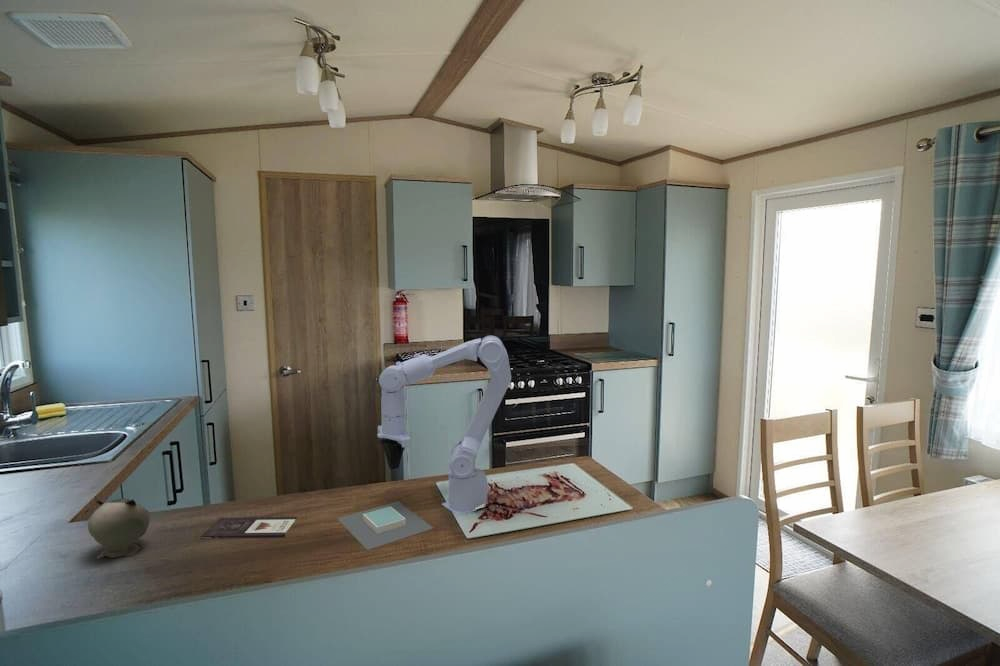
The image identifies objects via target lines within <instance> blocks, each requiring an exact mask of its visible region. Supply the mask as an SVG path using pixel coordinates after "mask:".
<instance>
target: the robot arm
mask: <svg viewBox="0 0 1000 666" xmlns="http://www.w3.org/2000/svg"><path fill="white" fill-rule="evenodd" d="M478 358H479V359H480V361H481V363H482V364H483V365H485V367H486V368H487V370H488V372H489V375H490V377H491V378H490V379H489V382H488V384H487V386H486V388H485V390H484V393H483V394H482V396H481V399H480V401H479V403H478V405H477V407H476V409H475V412H474V414H473V416H472V417H471V420H470V422H469V424H468V426H467V428H466V430H465V432H464V433H463V435H462V436H461V438H460V440H459V441H458V443H456V444H455V445H453V447H452V449H451V454H450V455H451V458H450V460H449V463H448V466H449V467H448V468H449V470H448V501H446V502H442V503H441V505H442V506H443V507H445V508H446V509H448V510H449V511H451V512H452V513H454V514H455V515H457V516H462V515H464V514H468V513H471V512H472V511H473V510H475V508H476V507H478V506H480V505H482V504H484V503H487V504H488V479H487V476H486V475H487V474H486V472H485V471H484V470H483V469H481V468H476V459H477V456H478V454H479V451H480V447H481V445H482V443H483V440H484V438H485V436H486V434H487V432H488V430H489V427H490V425H491V424H492V421H493V420H494V417H495V415H496V413H497V411H498V408H499V407H500V405H501V403H502V400H503V398H504V396H505V394H506V392H507V390H508V387H509V386H510V383H511V382H512V373H511V367H510V359H509V355H508V351H507V349H506V347H505V346H504V344H503V342H502V340H501V339H500V338H499V337H498V336H495V335H486V336H484V337H483V338H481V337H479V338H475V339H472V340H468V341H466V342H463V343H461V344H459V345H456V346H454V347H451V348H449V349H446V350H445V351H442V352H439V353H438V354H435V355H433V356H430V355H427V354H425V353H423V354H421V355H420V353H416V354H414V355H413V358H410V359H407V360H404V361H402V362H401V361H396V362H395V365H394V364H392V365H390V366H387V367H386V368H385V369H384V370H383V371H381V373H380V375H379V377H378V383H379V386H380V387H381V397H380V403H381V404H380V406H381V414H380V417H381V424H380V425H378V426H377V434H376V436H377V438H378V439H381V440H380V441H379V444H380V445H381V447H382V450H383V451H384V454H385V457H386V461H387V465H388V468H389V469H390V470H395V469H399V468H400V465H401V460H402V456H403V453H404V451H405V448H409V447H411V445H412V442H411V441H412V438H411V437H409V435H408V433H407V431H406V403H405V402H406V401H405V400H406V397H405V385H408V386H409V385H411V384H413V383H417V382H419V381H422V380H425V379H427V378H429V377H432V376H433V375H434V373H435V370H436V369H439V368H441V367H445V366H447V365H450V364H453V363H457V362H459V361H463V360H470V361H474V362H477V361H478Z"/></svg>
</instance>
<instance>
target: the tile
mask: <svg viewBox="0 0 1000 666" xmlns="http://www.w3.org/2000/svg"><path fill="white" fill-rule="evenodd" d="M363 521H364V522H365V523H366V524H367V525H368V526H369V527H370V528H371V529H372V530H373V531H374V532H376V533H377V534H379V533H383V532H386V531H389V530H392V529H395V528H399V527H402V526H405V525H406V519H405V518H404V517H403V516H402V515H400V514H399V513H398V512H397V511H395V510H394V509H393V508H392V507H387V508H383V509H380V510H376V511H373V512H369V513H366V514H363Z"/></svg>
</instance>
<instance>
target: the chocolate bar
mask: <svg viewBox="0 0 1000 666" xmlns="http://www.w3.org/2000/svg"><path fill="white" fill-rule="evenodd" d="M297 519H298V516H263V517H260V516H257V517H256V516H255V517H252V516H251V517H220V518H219V519H218V520H216V521H215V523H214V524H212V526H210V527H209V528H208V529H207V530H206V531H205V532H204V533H203V534H201V535H200V537H211V538H215V537H218V538H220V539H224V538H223V537H227V538H226V539H268V538H269V539H270V538H271V539H272V538H275V539H276V538H277V539H279V538H285V536H286V533H287V532H288V530H289V529H290V528H291V526H292V525H293V524H294V522H296V520H297ZM243 537H244V538H243Z"/></svg>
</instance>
